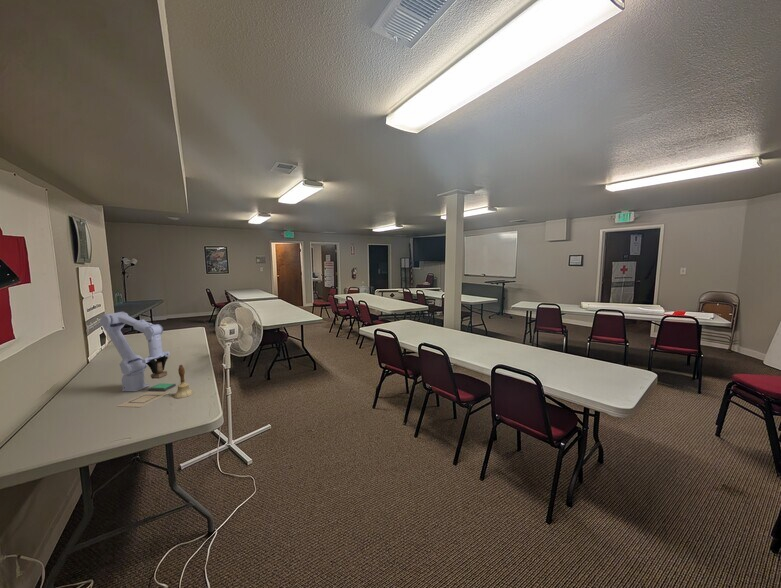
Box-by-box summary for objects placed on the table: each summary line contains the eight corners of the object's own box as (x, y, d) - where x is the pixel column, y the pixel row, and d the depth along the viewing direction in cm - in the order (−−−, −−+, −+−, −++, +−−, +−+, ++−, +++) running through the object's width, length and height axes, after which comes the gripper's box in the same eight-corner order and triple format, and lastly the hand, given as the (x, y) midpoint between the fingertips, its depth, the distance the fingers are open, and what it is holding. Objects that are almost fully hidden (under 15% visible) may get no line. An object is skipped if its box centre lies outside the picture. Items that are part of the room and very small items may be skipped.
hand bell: (197, 391, 156) (194, 362, 155) (185, 398, 148) (181, 367, 147) (183, 391, 157) (179, 362, 156) (169, 398, 149) (166, 367, 147)
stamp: (151, 378, 158) (149, 364, 157) (159, 375, 163) (157, 361, 162) (159, 378, 157) (157, 364, 157) (167, 375, 162) (165, 361, 162)
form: (116, 406, 142) (116, 405, 142) (148, 392, 158) (148, 391, 158) (140, 407, 140) (139, 406, 140) (169, 392, 156) (169, 392, 156)
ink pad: (148, 390, 160) (148, 388, 160) (160, 385, 167) (159, 382, 166) (164, 391, 158) (164, 388, 158) (175, 385, 165) (175, 383, 165)
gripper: (149, 351, 151) (152, 376, 152) (173, 343, 165) (176, 367, 167) (137, 351, 152) (140, 376, 153) (162, 343, 166) (165, 367, 168)
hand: (158, 371), depth 160 cm, fingers closed on stamp, 4 cm apart
